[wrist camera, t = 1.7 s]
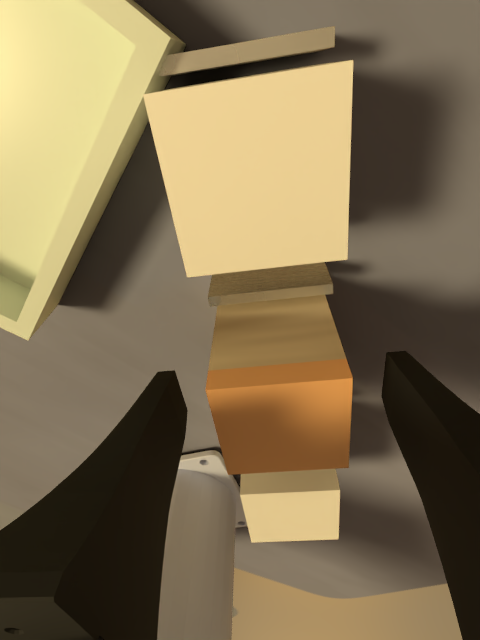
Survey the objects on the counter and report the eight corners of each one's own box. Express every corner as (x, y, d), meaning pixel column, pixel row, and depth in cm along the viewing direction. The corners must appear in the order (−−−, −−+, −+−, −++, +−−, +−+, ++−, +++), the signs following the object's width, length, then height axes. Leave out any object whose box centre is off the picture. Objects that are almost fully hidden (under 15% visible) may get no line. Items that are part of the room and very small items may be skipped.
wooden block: (319, 351, 17) (348, 467, 12) (234, 359, 17) (227, 474, 12) (318, 274, 15) (352, 378, 10) (220, 285, 15) (205, 389, 10)
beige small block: (321, 446, 21) (338, 539, 17) (251, 450, 21) (251, 542, 17) (320, 397, 19) (339, 489, 14) (242, 402, 19) (240, 494, 15)
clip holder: (325, 455, 21) (331, 487, 19) (249, 459, 21) (249, 491, 20) (321, 33, 10) (334, 26, 9) (170, 59, 11) (156, 57, 9)
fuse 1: (316, 199, 13) (347, 259, 9) (207, 214, 13) (187, 277, 9) (314, 64, 11) (353, 60, 7) (183, 86, 11) (142, 95, 7)
